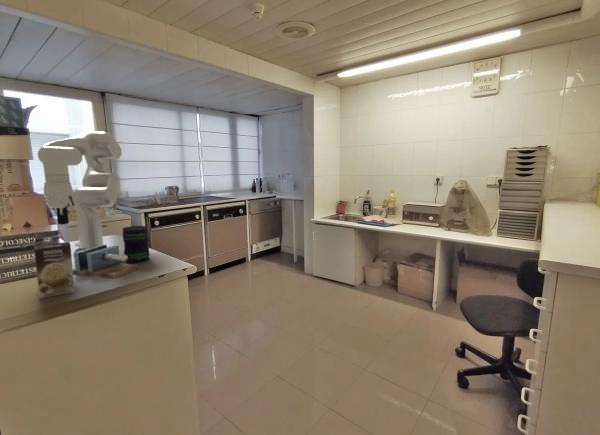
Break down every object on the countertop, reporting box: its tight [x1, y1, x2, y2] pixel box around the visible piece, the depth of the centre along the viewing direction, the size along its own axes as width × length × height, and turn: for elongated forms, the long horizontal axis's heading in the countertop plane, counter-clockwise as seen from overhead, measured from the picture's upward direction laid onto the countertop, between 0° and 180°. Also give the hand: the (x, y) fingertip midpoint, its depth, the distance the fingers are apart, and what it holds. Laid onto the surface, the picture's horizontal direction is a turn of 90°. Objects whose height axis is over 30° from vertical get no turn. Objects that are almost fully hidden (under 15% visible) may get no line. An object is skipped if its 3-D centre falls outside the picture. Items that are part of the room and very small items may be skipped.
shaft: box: [74, 247, 128, 262], centre depth 118 cm, size 22×5×5 cm, turn 78°
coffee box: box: [33, 241, 76, 299], centre depth 96 cm, size 9×6×16 cm
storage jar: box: [122, 225, 150, 265], centre depth 131 cm, size 10×10×15 cm
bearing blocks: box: [73, 244, 121, 273], centre depth 118 cm, size 8×13×7 cm, turn 168°
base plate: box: [73, 262, 138, 279], centre depth 118 cm, size 20×12×2 cm, turn 78°
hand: (63, 223), depth 120 cm, fingers closed
